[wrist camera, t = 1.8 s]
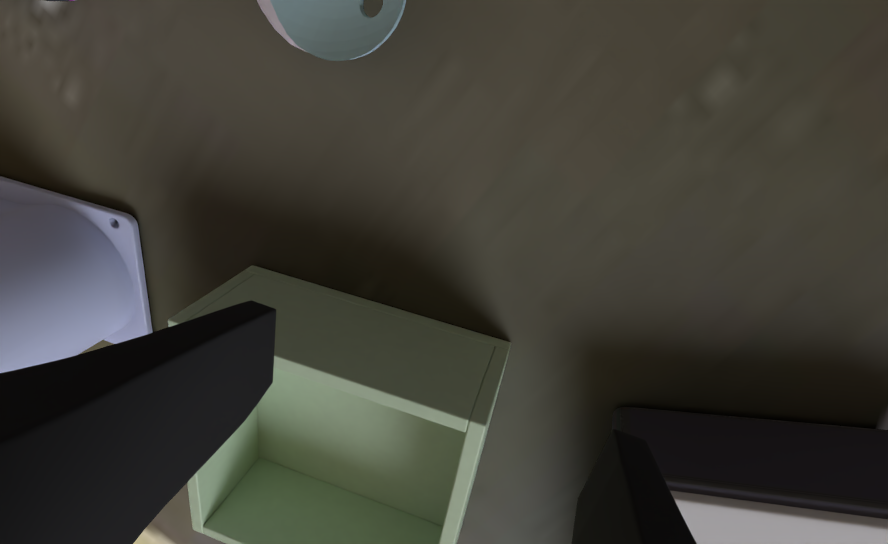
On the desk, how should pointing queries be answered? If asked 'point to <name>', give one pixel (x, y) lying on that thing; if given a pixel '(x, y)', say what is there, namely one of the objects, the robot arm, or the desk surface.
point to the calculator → (768, 477)
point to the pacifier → (332, 25)
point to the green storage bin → (349, 423)
